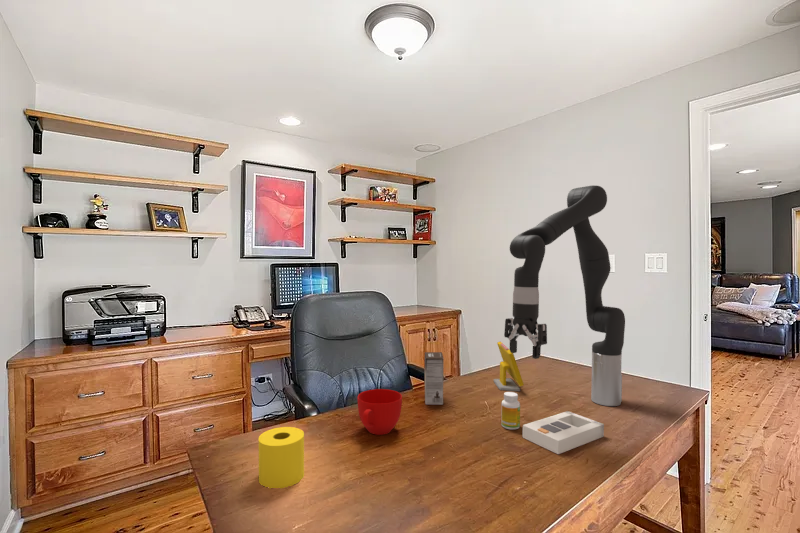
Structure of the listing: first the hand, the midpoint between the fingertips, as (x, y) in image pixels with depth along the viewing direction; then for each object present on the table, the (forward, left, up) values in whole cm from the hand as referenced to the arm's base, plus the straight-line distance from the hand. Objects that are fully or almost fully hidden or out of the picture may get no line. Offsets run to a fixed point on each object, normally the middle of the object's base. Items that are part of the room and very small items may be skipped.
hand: (524, 355), depth 125 cm
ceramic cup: (+41, -18, -21) cm, 49 cm away
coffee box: (+11, -31, -21) cm, 39 cm away
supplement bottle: (+5, -1, -21) cm, 22 cm away
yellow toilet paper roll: (+71, -9, -21) cm, 75 cm away
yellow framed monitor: (-23, -29, -21) cm, 42 cm away
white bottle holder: (-2, +12, -21) cm, 24 cm away
